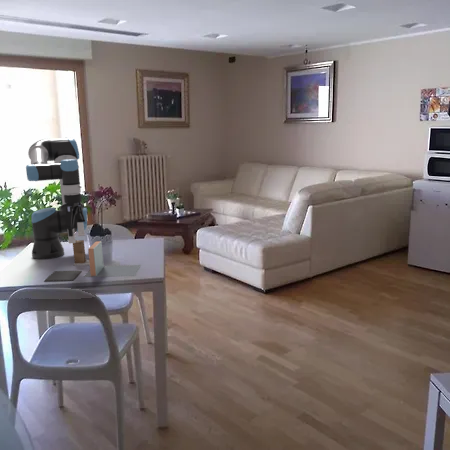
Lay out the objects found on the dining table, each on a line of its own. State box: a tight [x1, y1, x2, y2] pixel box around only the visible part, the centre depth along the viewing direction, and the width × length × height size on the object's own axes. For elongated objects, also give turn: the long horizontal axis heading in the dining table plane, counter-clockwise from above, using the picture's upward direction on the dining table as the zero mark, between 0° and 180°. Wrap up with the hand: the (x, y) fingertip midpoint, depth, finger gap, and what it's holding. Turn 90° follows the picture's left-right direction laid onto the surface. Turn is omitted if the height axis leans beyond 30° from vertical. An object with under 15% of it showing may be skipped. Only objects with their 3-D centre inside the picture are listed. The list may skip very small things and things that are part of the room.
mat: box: [83, 264, 142, 278], centre depth 206 cm, size 15×22×1 cm
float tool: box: [72, 239, 90, 267], centre depth 218 cm, size 8×10×11 cm
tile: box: [87, 240, 105, 276], centre depth 205 cm, size 12×2×12 cm, turn 0°
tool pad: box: [43, 270, 82, 283], centre depth 200 cm, size 12×12×1 cm
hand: (77, 239), depth 216 cm, fingers open, 13 cm apart
